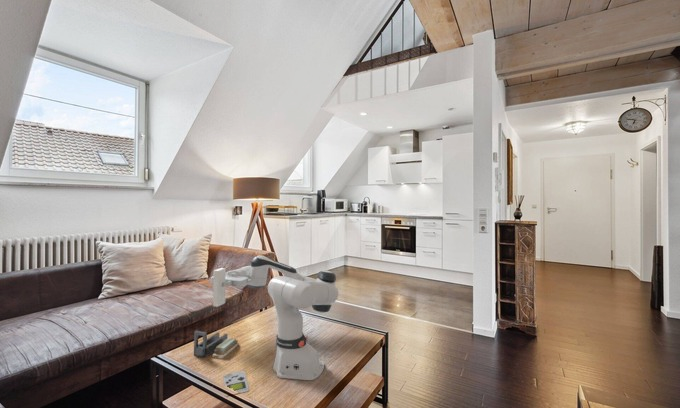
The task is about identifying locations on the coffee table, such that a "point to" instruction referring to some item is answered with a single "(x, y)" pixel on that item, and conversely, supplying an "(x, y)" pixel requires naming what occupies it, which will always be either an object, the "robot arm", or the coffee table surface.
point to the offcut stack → (225, 348)
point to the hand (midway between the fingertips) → (219, 284)
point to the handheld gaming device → (236, 381)
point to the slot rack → (207, 343)
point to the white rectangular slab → (218, 287)
